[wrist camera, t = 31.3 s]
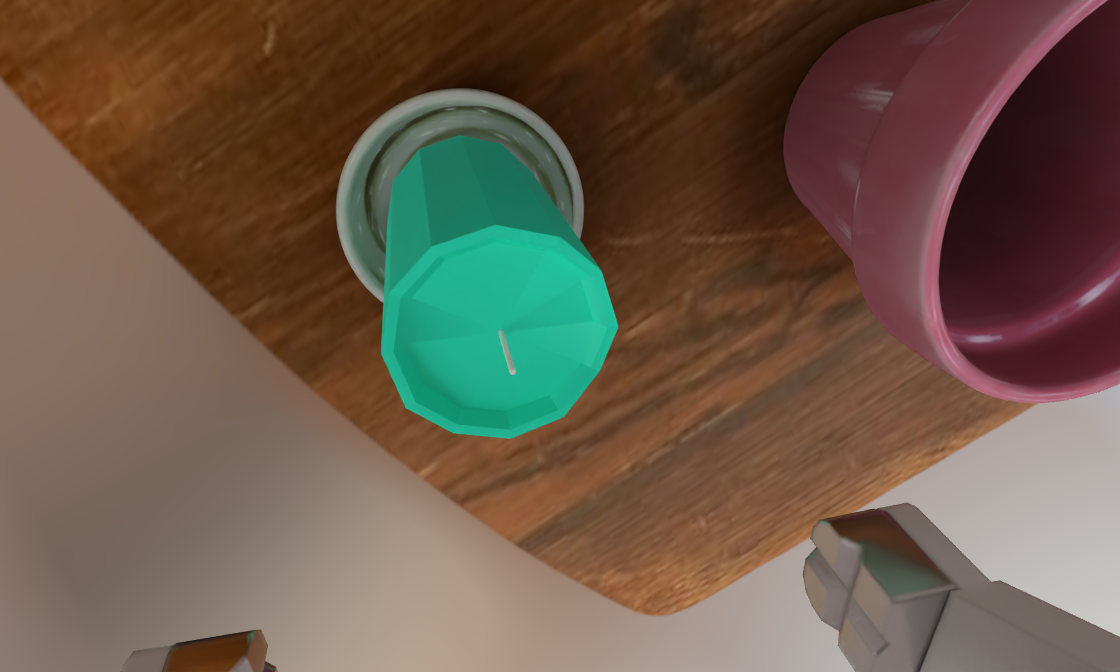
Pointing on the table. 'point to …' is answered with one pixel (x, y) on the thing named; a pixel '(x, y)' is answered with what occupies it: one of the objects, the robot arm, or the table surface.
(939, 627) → the robot arm
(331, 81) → the table surface
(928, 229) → the flower pot
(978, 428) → the table surface
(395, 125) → the saucer
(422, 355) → the candle
